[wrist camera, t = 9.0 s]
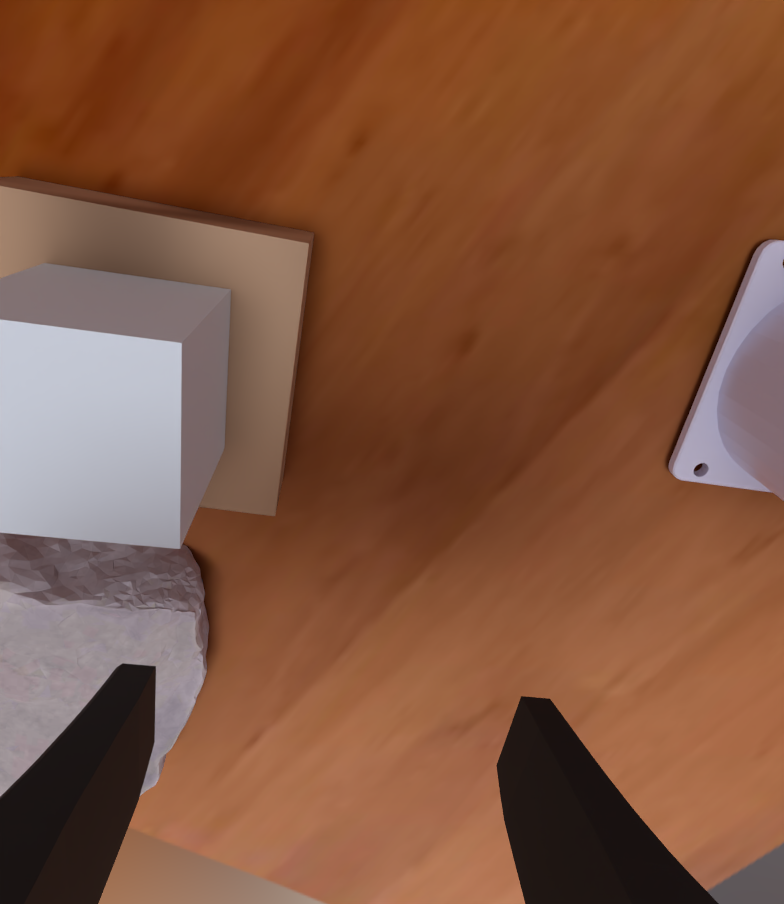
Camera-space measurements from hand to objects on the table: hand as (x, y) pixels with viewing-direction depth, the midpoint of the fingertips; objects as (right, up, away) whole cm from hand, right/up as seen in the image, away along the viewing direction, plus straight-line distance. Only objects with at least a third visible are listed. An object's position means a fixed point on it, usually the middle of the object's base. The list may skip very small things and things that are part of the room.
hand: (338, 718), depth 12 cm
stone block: (-11, -2, +12) cm, 16 cm away
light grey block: (-6, +8, +4) cm, 10 cm away
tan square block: (-6, +9, +7) cm, 13 cm away
